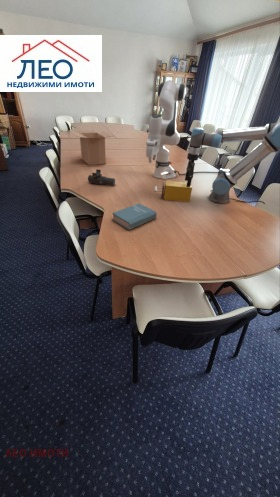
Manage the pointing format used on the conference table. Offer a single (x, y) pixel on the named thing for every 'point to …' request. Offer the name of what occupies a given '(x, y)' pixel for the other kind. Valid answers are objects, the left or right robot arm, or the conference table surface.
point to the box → (92, 146)
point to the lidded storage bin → (177, 191)
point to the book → (134, 216)
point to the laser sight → (100, 179)
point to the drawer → (160, 191)
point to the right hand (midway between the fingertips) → (187, 183)
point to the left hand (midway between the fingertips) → (152, 161)
